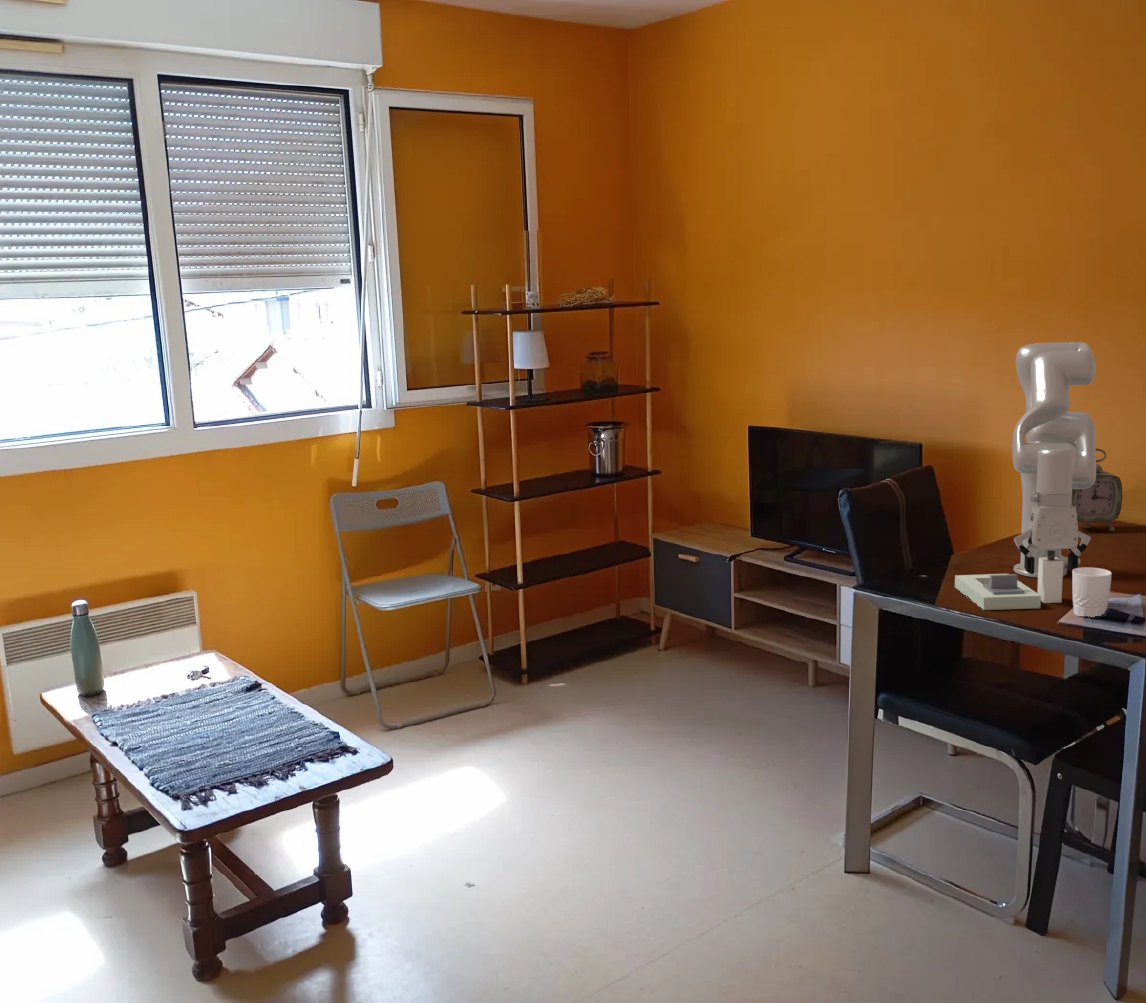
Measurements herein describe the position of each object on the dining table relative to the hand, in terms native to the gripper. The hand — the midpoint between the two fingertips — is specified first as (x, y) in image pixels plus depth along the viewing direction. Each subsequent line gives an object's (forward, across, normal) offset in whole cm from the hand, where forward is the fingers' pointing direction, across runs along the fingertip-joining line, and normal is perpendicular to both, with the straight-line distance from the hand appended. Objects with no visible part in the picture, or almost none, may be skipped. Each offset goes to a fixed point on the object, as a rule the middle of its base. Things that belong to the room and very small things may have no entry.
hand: (1050, 572), depth 244 cm
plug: (+7, 0, +1) cm, 7 cm away
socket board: (+7, -11, +5) cm, 14 cm away
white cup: (+8, +4, -11) cm, 14 cm away
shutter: (+4, -11, 0) cm, 12 cm away
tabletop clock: (+5, +42, +72) cm, 83 cm away
